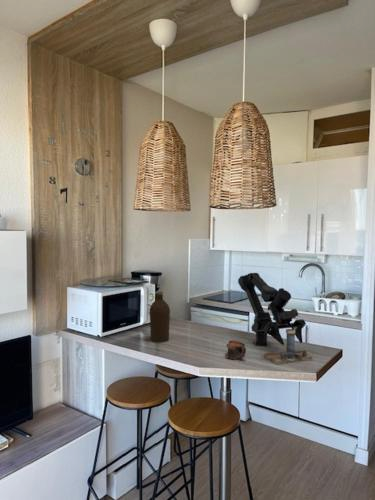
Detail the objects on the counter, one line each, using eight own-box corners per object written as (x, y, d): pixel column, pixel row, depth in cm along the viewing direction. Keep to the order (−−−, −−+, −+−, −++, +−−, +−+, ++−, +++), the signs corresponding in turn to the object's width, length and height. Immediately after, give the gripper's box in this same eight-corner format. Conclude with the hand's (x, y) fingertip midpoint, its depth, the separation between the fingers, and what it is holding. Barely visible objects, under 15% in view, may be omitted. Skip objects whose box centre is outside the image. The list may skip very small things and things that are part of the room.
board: (264, 357, 164) (264, 347, 164) (298, 352, 170) (298, 343, 169) (276, 364, 154) (276, 354, 154) (312, 359, 160) (312, 349, 160)
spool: (283, 359, 161) (283, 329, 160) (290, 357, 163) (290, 328, 162) (290, 361, 157) (291, 331, 157) (297, 360, 160) (297, 330, 159)
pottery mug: (219, 357, 165) (223, 339, 168) (235, 363, 169) (238, 346, 172) (236, 358, 155) (240, 338, 159) (253, 364, 159) (256, 345, 163)
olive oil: (157, 344, 184) (156, 294, 183) (145, 339, 192) (145, 291, 191) (174, 340, 190) (174, 292, 189) (162, 335, 199) (162, 289, 197)
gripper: (267, 304, 160) (281, 336, 150) (303, 301, 166) (319, 331, 156) (258, 318, 168) (270, 349, 158) (293, 315, 174) (307, 344, 164)
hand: (292, 343), depth 158 cm, fingers open, 9 cm apart
